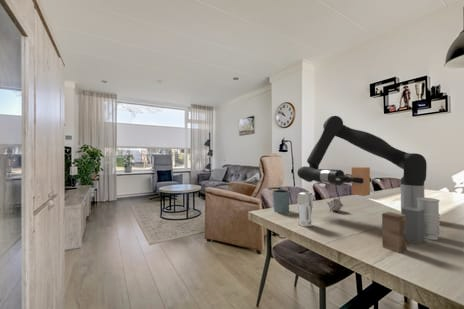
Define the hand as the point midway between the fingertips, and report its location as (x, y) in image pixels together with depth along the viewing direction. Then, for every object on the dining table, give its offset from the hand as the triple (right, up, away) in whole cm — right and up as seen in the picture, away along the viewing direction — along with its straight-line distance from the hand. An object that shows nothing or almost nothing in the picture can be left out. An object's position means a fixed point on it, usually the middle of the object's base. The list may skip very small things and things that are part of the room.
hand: (366, 180), depth 91 cm
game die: (+2, -22, +32) cm, 39 cm away
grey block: (+11, -22, -10) cm, 27 cm away
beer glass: (-24, -22, +9) cm, 34 cm away
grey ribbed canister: (+20, -22, -7) cm, 30 cm away
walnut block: (-1, -22, -17) cm, 28 cm away
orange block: (-1, -7, +2) cm, 7 cm away
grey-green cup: (-29, -22, +33) cm, 49 cm away
